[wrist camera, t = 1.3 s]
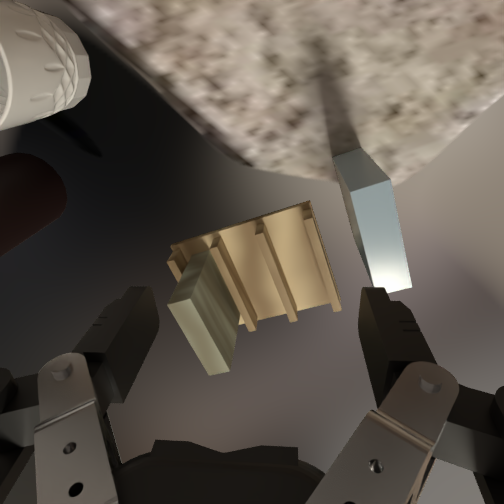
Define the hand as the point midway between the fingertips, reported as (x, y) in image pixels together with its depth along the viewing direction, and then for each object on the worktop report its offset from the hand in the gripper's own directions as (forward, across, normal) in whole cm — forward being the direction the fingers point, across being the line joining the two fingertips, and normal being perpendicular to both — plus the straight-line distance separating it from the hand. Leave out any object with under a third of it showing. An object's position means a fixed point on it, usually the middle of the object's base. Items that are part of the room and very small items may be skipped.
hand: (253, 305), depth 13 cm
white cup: (+19, +17, -9) cm, 27 cm away
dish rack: (+19, +2, +10) cm, 21 cm away
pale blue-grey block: (+19, -7, +3) cm, 20 cm away
